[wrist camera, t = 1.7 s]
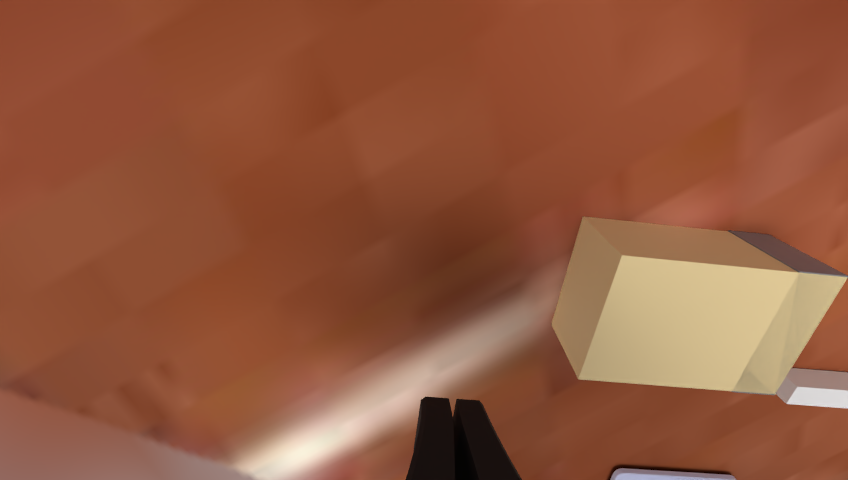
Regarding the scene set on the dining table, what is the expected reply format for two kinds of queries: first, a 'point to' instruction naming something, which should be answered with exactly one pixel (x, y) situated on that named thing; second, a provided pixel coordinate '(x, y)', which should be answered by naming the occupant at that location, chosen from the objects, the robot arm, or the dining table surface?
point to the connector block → (688, 306)
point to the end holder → (815, 388)
